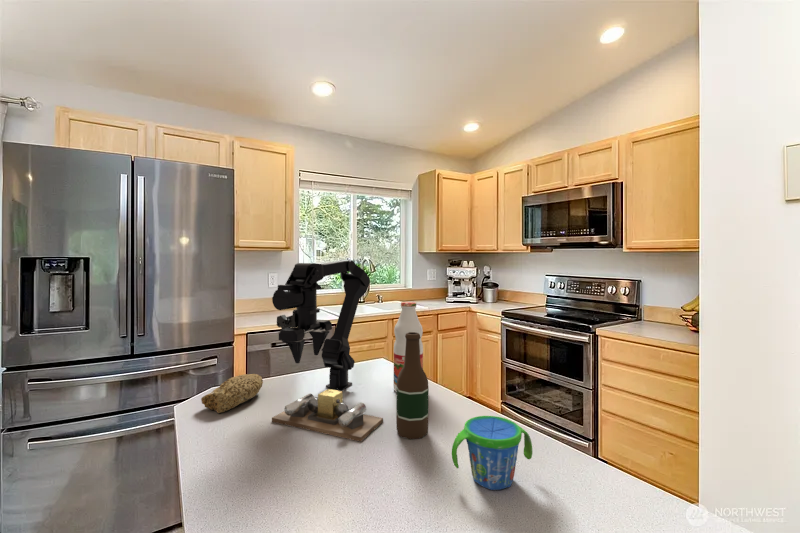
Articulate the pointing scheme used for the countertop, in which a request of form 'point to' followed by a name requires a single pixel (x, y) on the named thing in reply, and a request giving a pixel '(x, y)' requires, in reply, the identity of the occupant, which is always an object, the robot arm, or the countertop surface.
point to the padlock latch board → (330, 424)
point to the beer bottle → (412, 393)
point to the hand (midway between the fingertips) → (307, 359)
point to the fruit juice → (404, 325)
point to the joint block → (329, 403)
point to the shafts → (340, 409)
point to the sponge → (233, 392)
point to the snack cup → (492, 449)
